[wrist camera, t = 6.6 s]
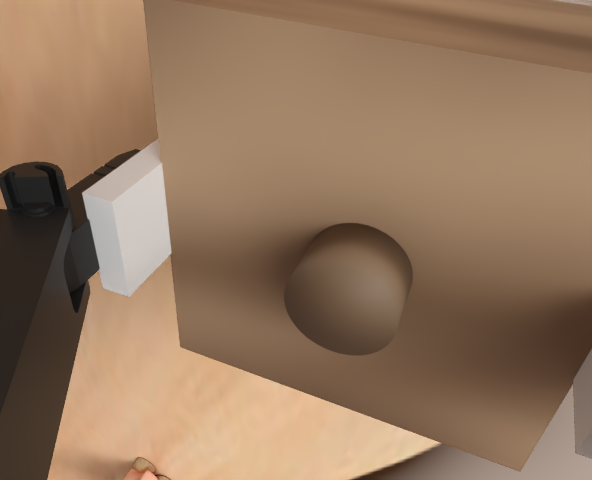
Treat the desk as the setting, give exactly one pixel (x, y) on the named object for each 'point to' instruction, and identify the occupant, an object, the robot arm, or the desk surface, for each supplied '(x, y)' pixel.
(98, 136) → the desk surface
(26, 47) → the desk surface
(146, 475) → the grandmother figurine
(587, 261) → the lid
